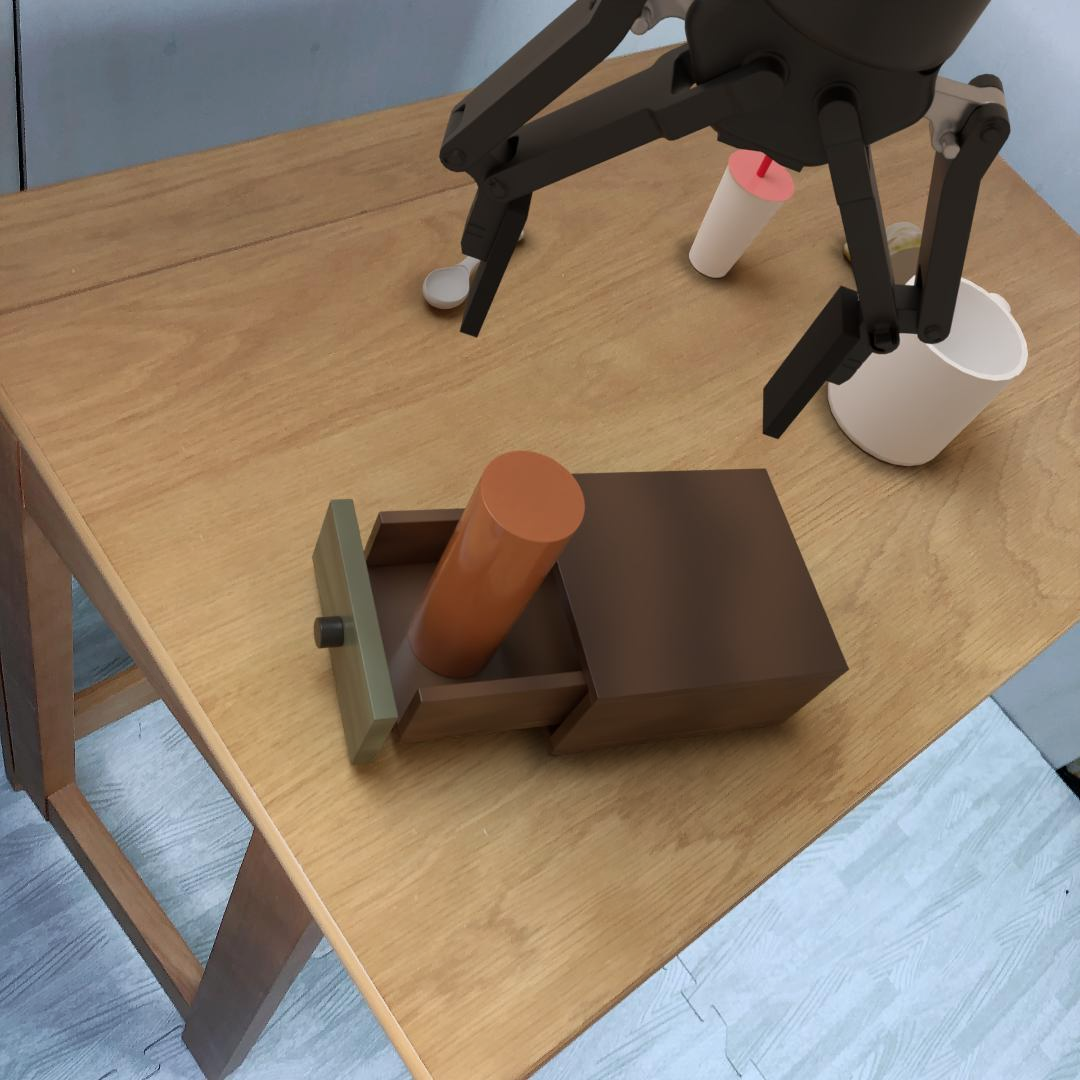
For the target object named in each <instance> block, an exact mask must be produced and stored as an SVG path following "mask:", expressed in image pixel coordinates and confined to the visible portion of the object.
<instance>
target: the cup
mask: <svg viewBox="0 0 1080 1080" xmlns="http://www.w3.org/2000/svg"><path fill="white" fill-rule="evenodd" d="M795 188H796V187H795V182H794V179H793V178H792V176H791V174H790V172H789V171H788V170H787V169H786V167H784V166H781V165H779V164H778V163H776V162H775V161H774V160H772V159H771V158H769V157H768V156H767V155H765V154H764V153H762V152H759V151H751V150H744V149H737V150H735V151H733V152H732V153H731V154H730V156H729V158H728V164H727V166H726V168H725V171H724V172H723V175H722V177H721V180H720V182H719V184H718V186H717V189H716V190H715V193H714V195H713V197H712V200H711V202H710V204H709V206H708V208H707V210H706V213H705V216H704V218H703V220H702V222H701V224H700V226H699V229H698V231H697V234H696V236H695V238H694V241H693V243H692V246H691V248H690V250H689V253H688V259H689V262H690V263H691V265H692V266H693V268H694V269H696V270H697V271H698V272H699V273H701V274H703V275H704V276H707V277H708V278H709V277H710V278H713V279H714V278H715V279H716V278H717V279H718V278H723V277H725V276H726V275H727V274H728V273H729V271H730V270H731V269H732V268H733V267H734V265H735V264H736V263H737V261H739V259H740V258H741V257H742V256H743V254H744V253H745V252H746V251H747V250H748V249H749V247H750V246H751V245H752V244H753V242H754V241H755V240H756V239H757V237H758V236H759V235H760V233H761V232H762V231H763V230H764V229H765V227H766V226H767V225H769V222H770V221H771V220H772V219H773V218H774V216H775V215H776V214H777V213H778V211H779V210H780V208H782V206H783V205H784V204H785V202H786V201H788V200H789V199H791V198H792V197H793V196H794V193H795Z"/></svg>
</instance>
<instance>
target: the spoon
mask: <svg viewBox="0 0 1080 1080" xmlns="http://www.w3.org/2000/svg"><path fill="white" fill-rule="evenodd" d="M524 237H525V231H524V229H523V230H522V233H521V235H520V237H519V240H518V242H519V241H521V240H522V239H523V238H524ZM480 261H481V260H478V259H475V258H473V257H470V256H467V255H466V257H465V258H464V259H463V260H462V261H461V262H459V263H458V264H456V265H453V266H449V267H442V268H436V269H434V270H433V271H430V273H428V275H427V276H426V277H425V279H424V280H423V283H422V295H423V297H424V299H425V301H426V302H427V303H428V304H429V305H430V306H431V307H433V308H436V309H439V310H450V309H453V308H457V307H458V306H460V305H461V304H462V303H463V302H464V301H466V300H467V298H468V294H469V290H470V279H471V276H472V275H473V273H474V272H476V271H477V269H478V266H479V264H480Z"/></svg>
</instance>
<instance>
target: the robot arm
mask: <svg viewBox="0 0 1080 1080" xmlns="http://www.w3.org/2000/svg"><path fill="white" fill-rule="evenodd" d="M991 2H992V0H575V1H574V2H573V3H572V4H570V5H569V6H568V7H567V8H566V9H565V10H563V11H562V12H561V13H560V14H559V15H558V16H557V17H555V18H554V19H553V20H552V21H551V22H550V23H549V24H547V25H546V26H545V27H544V28H543V29H542V30H541V31H539V32H538V33H537V34H536V35H535V36H534V37H532V39H530V40H529V41H528V42H527V43H526V44H524V45H523V46H522V47H521V48H520V49H518V50H517V51H516V52H515V53H514V54H513V55H511V56H510V57H509V59H507V60H506V61H505V62H504V63H502V64H501V65H500V66H499V67H498V68H496V70H495V71H493V72H492V73H490V75H489V76H488V77H487V78H485V79H484V80H483V81H481V83H479V84H478V85H477V86H476V87H475V88H474V89H473V90H471V91H470V92H469V93H468V94H467V95H466V96H464V97H463V98H462V99H461V100H460V101H459V102H457V103H456V104H455V105H454V107H453V108H452V109H451V111H450V115H449V118H448V122H447V125H446V129H445V132H444V135H443V139H442V141H441V146H440V150H439V154H438V157H439V161H440V163H441V165H442V166H443V167H444V168H445V169H447V170H449V172H453V173H466V174H468V175H469V177H471V178H472V179H473V180H474V182H475V183H476V186H477V190H476V192H475V195H474V197H473V200H472V203H471V206H470V209H469V210H468V214H467V217H466V219H465V224H464V227H463V232H462V235H461V239H460V249H461V255H464V256H466V257H467V256H470V257H473V258H475V259H478V260H481V261H480V264H479V266H478V268H477V269H476V270H475V274H474V277H473V279H472V281H471V284H470V285H469V293H468V295H467V298H466V303H465V307H464V311H463V316H462V320H461V324H460V328H459V333H461V334H464V335H467V336H470V337H473V338H476V339H477V338H479V335H480V332H481V331H482V328H483V325H484V323H485V320H486V318H487V316H488V314H489V311H490V308H491V306H492V304H493V301H494V299H495V297H496V294H497V292H498V291H499V290H498V289H499V287H500V285H501V283H502V280H503V278H504V275H505V273H506V271H507V268H508V266H509V263H510V261H511V259H512V256H513V254H514V252H515V249H516V246H517V244H518V243H519V241H518V240H519V237H520V235H521V233H522V230H523V231H524V228H525V225H526V224H527V220H528V217H529V212H530V208H531V203H532V198H533V193H534V192H536V191H538V190H540V189H543V188H545V187H548V186H550V185H552V184H554V183H557V182H560V181H562V180H564V179H566V178H569V177H571V176H574V175H576V174H578V173H581V172H583V171H585V170H587V169H590V168H593V167H596V166H597V165H600V164H601V163H604V162H605V163H606V162H607V161H609V160H612V159H615V158H616V157H619V156H621V155H623V154H626V153H628V152H630V151H633V150H635V149H638V148H640V147H642V146H644V145H647V144H649V143H651V142H654V141H657V140H659V139H665V140H666V141H669V142H673V141H677V140H679V139H682V138H684V137H687V136H689V135H691V134H693V133H696V132H699V131H701V130H703V129H706V128H708V127H710V128H711V129H712V130H713V131H714V132H716V133H717V135H716V141H717V142H719V143H722V144H724V145H727V146H729V147H733V148H735V149H737V150H751V151H758V152H761V153H764V154H765V155H767V156H768V157H769V158H771V159H772V160H774V161H775V162H776V163H778V164H779V165H781V166H783V167H784V168H785V169H786V168H787V169H789V170H792V171H794V172H796V173H799V174H800V173H802V171H803V168H804V167H805V168H815V167H821V166H825V165H827V166H828V170H829V175H830V180H831V183H832V184H831V185H832V189H833V192H834V197H835V198H834V199H835V202H836V205H837V206H838V208H839V212H840V218H841V222H842V226H843V231H844V235H845V241H846V243H847V245H848V250H849V255H850V259H851V261H850V264H851V268H852V273H853V278H854V282H855V287H856V290H854V289H852V288H849V287H846V286H844V285H840V286H839V287H838V289H837V290H836V291H835V293H834V294H833V295H832V296H831V298H830V299H829V300H828V302H827V303H826V304H825V306H824V307H823V308H822V310H821V311H820V312H819V314H818V315H817V316H816V318H815V319H814V320H813V321H812V323H811V324H810V325H809V327H808V328H807V329H806V331H805V332H804V334H803V335H802V336H801V338H800V339H799V340H798V342H797V343H796V344H795V345H794V347H793V348H792V350H790V352H789V353H788V355H787V356H786V357H785V359H784V360H783V361H782V362H781V364H780V365H779V366H778V368H777V369H776V371H775V372H774V373H773V375H772V376H771V377H770V379H769V380H768V381H767V383H766V384H765V385H764V386H763V388H762V435H764V436H767V437H770V438H773V439H775V440H779V439H780V438H781V437H782V436H783V434H785V432H786V431H787V430H788V428H789V427H790V426H791V425H792V424H793V422H794V421H795V420H796V418H797V417H798V416H799V415H800V414H801V412H802V411H803V410H804V409H805V407H806V406H807V405H808V404H809V403H810V401H811V400H812V399H813V398H814V396H815V395H816V394H817V393H818V391H819V390H820V389H821V388H822V387H823V386H824V384H826V382H828V383H829V382H831V383H833V384H836V385H841V384H843V383H844V382H846V381H848V380H850V379H851V377H852V376H853V375H854V374H855V373H856V371H857V369H859V368H860V367H861V365H862V364H863V363H864V362H865V361H866V360H867V358H868V357H869V356H870V355H871V354H872V352H873V353H876V354H888V353H891V352H893V351H894V350H896V349H897V348H898V346H899V345H900V335H899V333H907V334H917V337H918V338H919V340H920V341H922V342H923V343H926V344H936V343H940V342H942V341H944V340H945V339H946V338H947V337H948V336H949V334H950V330H951V325H952V320H953V316H954V311H955V306H956V301H957V296H958V291H959V286H960V281H961V277H962V275H963V271H964V265H965V261H966V255H967V251H968V246H969V242H970V236H971V232H972V225H973V221H974V216H975V211H976V206H977V203H978V198H979V197H978V196H979V193H980V187H981V181H982V179H983V178H984V176H985V175H986V173H987V171H989V169H990V167H991V166H992V164H993V162H994V161H995V160H996V157H997V156H998V155H999V153H1000V152H1001V150H1002V148H1003V147H1004V145H1005V144H1006V143H1007V141H1008V139H1009V137H1010V135H1011V131H1012V129H1011V123H1010V118H1009V112H1008V106H1007V101H1006V97H1005V92H1004V86H1003V82H1002V79H1000V77H999V76H996V75H995V74H993V73H982V74H979V75H976V76H975V77H973V78H972V79H970V80H969V82H968V83H964V82H961V81H958V80H955V79H951V78H948V77H944V76H940V75H939V73H940V70H941V68H942V67H943V65H944V64H945V63H946V62H947V61H948V60H949V59H950V58H951V57H952V56H953V55H954V54H955V53H956V51H957V50H958V48H959V47H960V46H961V44H962V43H963V42H964V40H965V38H966V37H967V35H968V34H969V33H970V31H971V30H972V28H974V26H975V24H976V23H977V21H978V20H979V19H980V17H981V16H982V15H983V13H984V11H985V10H986V9H987V7H988V6H989V5H990V3H991ZM669 18H675V19H679V20H682V21H684V33H685V34H684V35H685V38H686V42H685V43H683V44H681V45H679V46H676V47H675V48H672V49H670V50H668V51H666V52H664V53H663V54H662V55H660V56H659V57H658V58H657V59H656V60H655V61H654V63H653V64H652V65H651V66H649V67H648V68H646V69H643V70H641V71H639V72H637V73H635V74H633V75H630V76H628V77H626V78H623V79H621V80H619V81H617V82H615V83H613V84H610V85H609V86H606V87H605V88H602V89H600V90H598V91H596V92H593V93H591V94H589V95H586V96H585V97H583V98H580V99H578V100H576V101H573V102H572V103H569V104H567V105H565V106H563V107H561V108H559V109H555V110H554V111H552V112H549V113H547V114H545V115H542V116H540V117H539V118H537V119H534V120H532V119H533V118H534V117H535V116H536V115H538V114H539V113H540V112H542V111H543V110H544V109H545V108H546V107H548V106H549V105H551V104H552V103H553V102H554V101H555V100H557V99H558V98H559V97H560V96H562V95H563V94H564V93H565V92H567V91H568V90H569V89H570V88H571V87H573V86H574V85H575V84H576V83H577V82H579V81H580V80H581V79H582V78H584V77H585V76H586V75H587V74H588V73H589V72H592V70H593V69H595V68H596V67H597V66H598V65H600V64H601V63H602V62H603V61H604V60H606V59H607V58H608V57H609V56H610V55H611V54H612V53H613V52H614V51H615V50H616V49H617V48H618V47H619V45H620V44H621V43H622V42H623V41H624V39H625V38H626V36H627V35H628V33H629V32H631V33H632V34H634V35H636V36H643V35H645V34H646V33H648V31H651V30H653V29H654V28H655V27H656V26H657V25H658V24H659V23H660V22H661V21H663V20H666V19H669ZM694 85H695V86H694ZM693 86H694V87H693ZM923 118H924V119H926V120H927V121H929V122H928V129H929V139H930V145H931V148H932V149H933V150H934V151H935V152H934V159H933V165H932V170H931V178H930V184H929V189H928V194H927V195H928V196H927V201H926V208H925V213H924V220H923V226H922V238H921V244H920V250H919V257H918V263H917V269H916V275H915V281H914V285H899V284H895V279H894V274H893V268H892V263H891V258H890V252H889V247H888V241H887V236H886V230H885V229H886V225H885V220H884V215H883V210H882V209H883V208H882V204H881V199H880V194H879V188H878V181H877V176H876V171H875V166H874V160H873V155H872V148H871V145H872V144H875V143H877V142H879V141H881V140H884V139H885V138H888V137H890V136H893V135H894V134H896V133H897V134H898V133H899V132H901V131H904V130H906V129H907V128H909V127H912V126H914V125H915V124H917V123H918V122H920V121H921V120H922V119H923ZM530 120H532V121H530Z"/></svg>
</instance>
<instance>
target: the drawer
mask: <svg viewBox="0 0 1080 1080" xmlns="http://www.w3.org/2000/svg"><path fill="white" fill-rule="evenodd" d="M328 503H329V504H328V506H327V509H326V512H325V516H324V519H323V521H322V525H321V528H320V531H319V534H318V537H317V540H316V543H315V546H314V549H313V552H312V555H311V559H312V560H311V561H312V565H313V571H314V577H315V581H316V586H317V587H316V588H317V592H318V597H319V603H320V608H321V615H322V616H318V617H316V618H315V619H314V622H313V638H314V642H315V646H316V648H317V649H319V650H323V649H328V651H329V657H330V661H331V662H330V663H331V667H332V672H333V678H334V684H335V689H336V694H337V695H336V696H337V700H338V706H339V711H340V716H341V722H342V727H343V732H344V737H345V743H346V749H347V753H348V754H347V755H348V758H349V764H350V766H357V765H366V764H372V763H374V761H375V760H376V758H377V756H378V755H379V753H380V751H381V749H382V747H384V744H385V741H386V740H387V738H388V737H389V735H390V733H391V731H392V730H393V733H394V737H395V742H396V744H397V745H403V744H409V743H418V742H419V743H420V742H426V741H434V740H441V739H442V740H444V739H449V738H450V739H451V738H459V737H467V736H475V735H482V734H491V733H499V732H507V731H515V730H522V729H531V728H539V727H540V728H541V726H548V725H556V724H562V723H563V722H564V720H565V719H566V718H567V717H568V716H569V715H570V713H571V712H572V711H573V710H574V709H575V707H576V706H577V705H578V704H579V703H580V702H581V700H582V699H583V698H584V697H585V696H586V694H587V693H588V692H589V690H588V687H587V684H586V680H585V677H584V674H583V670H582V667H581V663H580V660H579V657H578V653H577V650H576V647H575V643H574V640H573V636H572V633H571V630H570V626H569V623H568V620H567V616H566V613H565V609H564V606H563V603H562V599H561V596H560V593H559V589H558V586H557V582H556V579H555V576H554V572H553V569H551V570H550V572H549V573H548V575H547V576H546V578H545V579H544V581H543V582H542V584H541V585H540V587H539V588H538V590H537V592H536V593H535V595H534V596H533V598H532V599H531V601H530V602H529V604H528V605H527V607H526V608H525V610H524V611H523V613H522V614H521V616H520V617H519V619H518V621H517V622H516V624H515V625H514V627H513V628H512V630H511V631H510V633H509V634H508V636H507V637H506V639H505V640H504V642H503V643H502V645H501V646H500V648H499V650H498V651H497V653H496V654H495V656H494V657H493V659H492V660H491V662H490V663H489V664H488V666H487V667H486V668H484V669H483V670H482V671H480V672H479V673H477V674H475V675H472V676H469V677H463V678H452V677H446V676H443V675H440V674H437V673H435V672H433V671H432V670H430V669H429V668H427V667H426V666H425V665H423V664H422V663H421V662H420V660H419V659H418V658H417V657H416V655H415V654H414V652H413V650H412V648H411V646H410V642H409V638H408V626H409V622H410V619H411V616H412V614H413V612H414V610H415V608H416V606H417V604H418V602H419V600H420V598H421V596H422V594H423V592H424V590H425V588H426V586H427V584H428V582H429V580H430V578H431V576H432V574H433V572H434V570H435V568H436V566H437V564H438V562H439V560H440V558H441V556H442V554H443V552H444V550H445V548H446V546H447V544H448V542H449V540H450V538H451V536H452V534H453V532H454V530H455V528H456V526H457V524H458V522H459V520H460V518H461V516H462V514H463V512H464V510H465V508H466V507H461V508H460V507H459V508H458V507H456V508H437V509H436V508H435V509H410V510H409V509H408V510H383V511H382V510H381V511H379V512H378V514H377V516H376V519H375V521H374V523H373V526H372V529H371V531H370V534H369V537H368V539H367V541H366V544H365V547H364V546H363V542H362V541H363V540H362V537H361V531H360V527H359V522H358V518H357V512H356V508H355V504H354V500H353V498H339V499H335V498H334V499H330V500H329V502H328Z"/></svg>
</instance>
